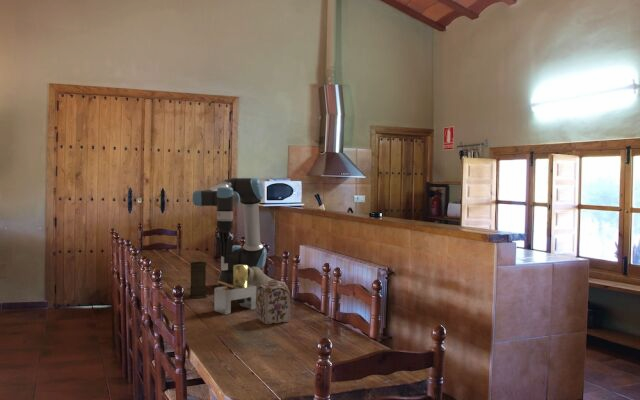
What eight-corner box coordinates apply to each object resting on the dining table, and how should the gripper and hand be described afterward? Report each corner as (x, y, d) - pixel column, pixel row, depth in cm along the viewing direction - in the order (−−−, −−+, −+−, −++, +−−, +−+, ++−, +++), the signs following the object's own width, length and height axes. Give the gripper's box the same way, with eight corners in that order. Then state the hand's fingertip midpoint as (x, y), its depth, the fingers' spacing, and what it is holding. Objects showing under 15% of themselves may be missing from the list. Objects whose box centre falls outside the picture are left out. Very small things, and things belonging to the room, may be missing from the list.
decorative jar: (265, 324, 240) (265, 283, 239) (255, 318, 250) (256, 279, 249) (290, 322, 245) (291, 281, 244) (280, 315, 255) (280, 277, 255)
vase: (288, 269, 304) (239, 259, 294) (302, 269, 285) (250, 258, 275) (280, 309, 300) (231, 300, 290) (294, 312, 280) (241, 302, 270)
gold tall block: (241, 300, 273) (242, 263, 272) (250, 302, 268) (250, 265, 267) (230, 302, 268) (230, 265, 267) (238, 304, 263) (239, 267, 262)
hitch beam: (244, 305, 276) (245, 283, 275) (256, 308, 269) (256, 285, 269) (214, 310, 263) (214, 287, 262) (225, 314, 256) (225, 290, 256)
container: (202, 298, 288) (202, 264, 287) (186, 297, 289) (186, 263, 289) (209, 295, 296) (209, 262, 296) (193, 294, 298) (194, 261, 297)
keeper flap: (228, 287, 266) (228, 284, 266) (234, 288, 262) (235, 286, 262) (216, 282, 261) (217, 279, 261) (223, 284, 257) (224, 281, 257)
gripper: (210, 219, 262) (209, 269, 262) (226, 221, 252) (225, 272, 253) (223, 218, 267) (223, 267, 268) (239, 220, 258) (239, 271, 259)
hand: (224, 270), depth 260 cm, fingers closed
